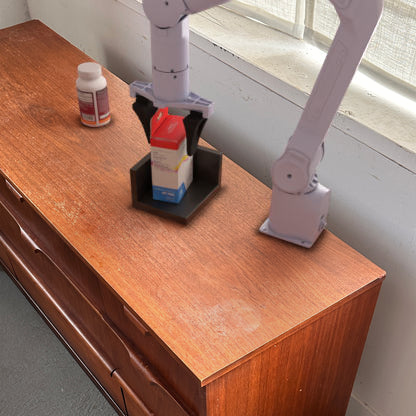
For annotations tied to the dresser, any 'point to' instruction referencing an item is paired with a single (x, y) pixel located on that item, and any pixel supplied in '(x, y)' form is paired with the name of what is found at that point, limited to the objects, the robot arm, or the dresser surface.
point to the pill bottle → (92, 95)
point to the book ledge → (195, 194)
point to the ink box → (169, 157)
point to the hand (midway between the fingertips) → (172, 147)
